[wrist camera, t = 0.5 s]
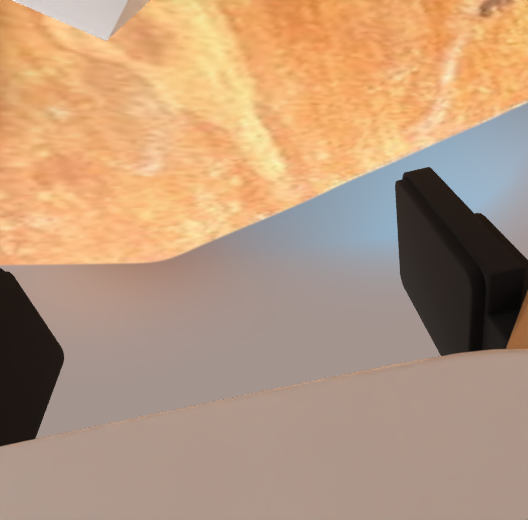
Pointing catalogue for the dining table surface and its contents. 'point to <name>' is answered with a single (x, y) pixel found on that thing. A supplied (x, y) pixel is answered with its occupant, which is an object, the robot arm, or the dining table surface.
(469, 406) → the robot arm
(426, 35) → the dining table surface
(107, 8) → the milk carton
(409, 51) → the dining table surface
